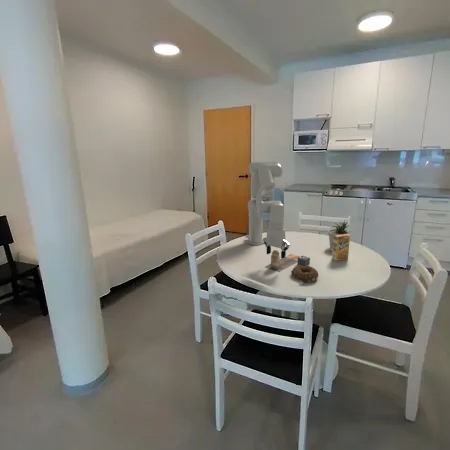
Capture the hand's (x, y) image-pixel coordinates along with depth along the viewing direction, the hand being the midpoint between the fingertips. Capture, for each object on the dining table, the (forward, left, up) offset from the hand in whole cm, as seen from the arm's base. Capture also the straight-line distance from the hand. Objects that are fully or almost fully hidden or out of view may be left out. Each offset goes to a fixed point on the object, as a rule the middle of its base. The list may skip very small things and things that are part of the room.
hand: (275, 255), depth 164 cm
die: (+9, +16, -9) cm, 20 cm away
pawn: (0, 0, -8) cm, 8 cm away
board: (0, +11, -9) cm, 14 cm away
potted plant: (+11, +57, -9) cm, 58 cm away
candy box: (+20, +40, -9) cm, 45 cm away
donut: (+17, +2, -9) cm, 20 cm away
